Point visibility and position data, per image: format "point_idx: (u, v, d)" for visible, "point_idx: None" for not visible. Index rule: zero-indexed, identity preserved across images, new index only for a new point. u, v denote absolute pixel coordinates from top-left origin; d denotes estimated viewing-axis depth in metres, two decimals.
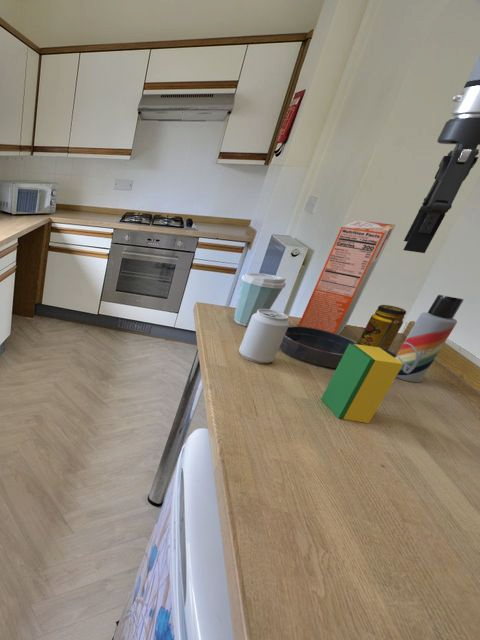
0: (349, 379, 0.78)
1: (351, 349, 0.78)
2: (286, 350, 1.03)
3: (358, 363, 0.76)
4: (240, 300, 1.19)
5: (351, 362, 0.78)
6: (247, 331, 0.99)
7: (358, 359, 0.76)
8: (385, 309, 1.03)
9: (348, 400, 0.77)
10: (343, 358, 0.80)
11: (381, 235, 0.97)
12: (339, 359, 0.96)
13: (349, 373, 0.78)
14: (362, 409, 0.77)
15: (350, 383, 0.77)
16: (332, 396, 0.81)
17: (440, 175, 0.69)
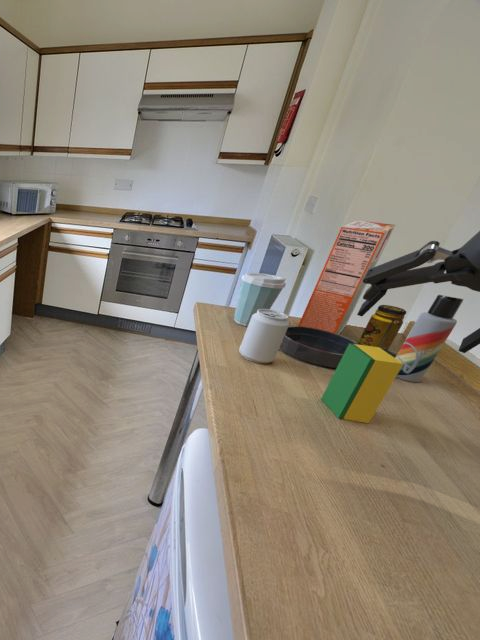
0: (349, 379, 0.78)
1: (351, 349, 0.78)
2: (286, 350, 1.03)
3: (358, 363, 0.76)
4: (240, 300, 1.19)
5: (351, 362, 0.78)
6: (247, 331, 0.99)
7: (358, 359, 0.76)
8: (385, 309, 1.03)
9: (348, 400, 0.77)
10: (343, 358, 0.80)
11: (381, 235, 0.97)
12: (339, 359, 0.96)
13: (349, 373, 0.78)
14: (362, 409, 0.77)
15: (350, 383, 0.77)
16: (332, 396, 0.81)
17: None
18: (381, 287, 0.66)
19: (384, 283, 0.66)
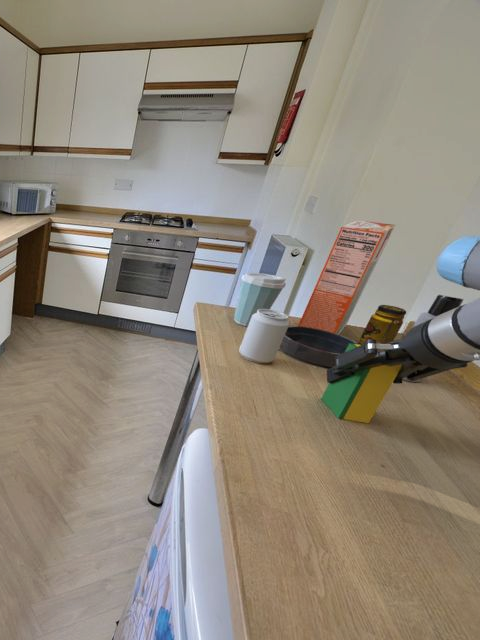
0: (349, 379, 0.78)
1: None
2: (286, 350, 1.03)
3: None
4: (240, 300, 1.19)
5: None
6: (247, 331, 0.99)
7: None
8: (385, 309, 1.03)
9: (348, 400, 0.77)
10: None
11: (381, 235, 0.97)
12: None
13: None
14: (362, 409, 0.77)
15: (350, 383, 0.77)
16: (332, 396, 0.81)
17: None
18: (351, 371, 0.76)
19: (351, 368, 0.75)
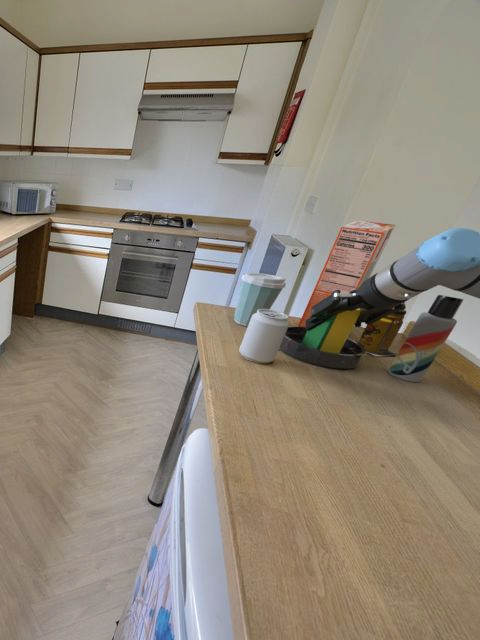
0: (322, 324, 1.01)
1: None
2: (286, 350, 1.03)
3: None
4: (240, 300, 1.19)
5: None
6: (247, 331, 0.99)
7: None
8: None
9: (320, 341, 1.00)
10: None
11: (381, 235, 0.97)
12: (339, 359, 0.96)
13: None
14: (331, 347, 1.00)
15: (322, 327, 1.00)
16: (309, 340, 1.05)
17: (372, 312, 0.92)
18: (323, 317, 0.99)
19: (323, 315, 0.99)
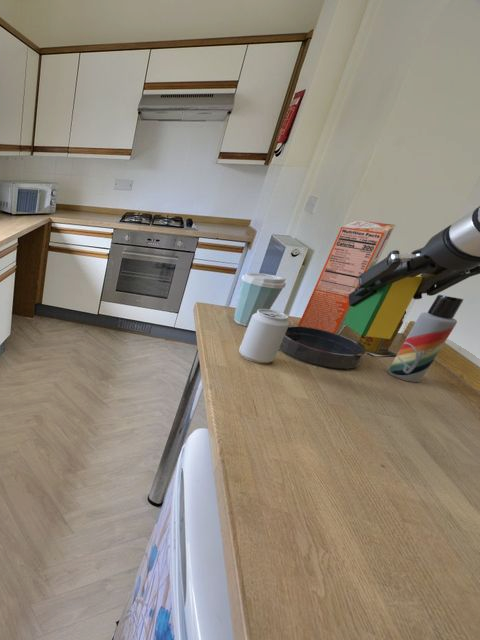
0: (371, 297, 0.82)
1: None
2: (286, 350, 1.03)
3: None
4: (240, 300, 1.19)
5: None
6: (247, 331, 0.99)
7: None
8: None
9: (371, 317, 0.82)
10: None
11: (381, 235, 0.97)
12: (339, 359, 0.96)
13: None
14: (384, 324, 0.82)
15: (372, 300, 0.82)
16: (355, 317, 0.86)
17: None
18: (373, 288, 0.81)
19: (373, 285, 0.80)
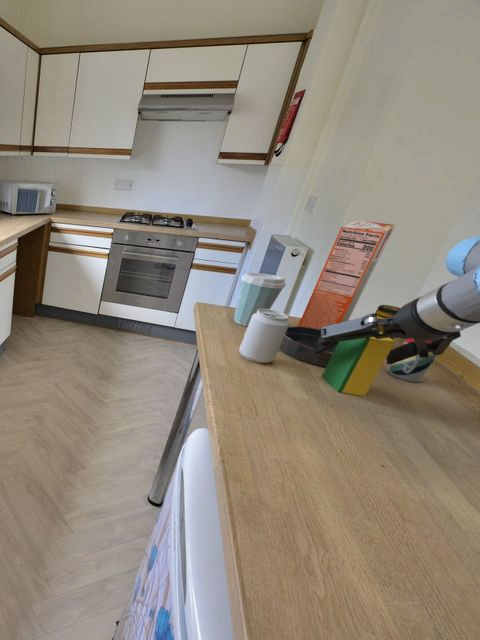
0: (347, 356, 0.87)
1: None
2: (286, 350, 1.03)
3: (355, 342, 0.85)
4: (240, 300, 1.19)
5: (349, 341, 0.87)
6: (247, 331, 0.99)
7: None
8: (385, 309, 1.03)
9: (346, 375, 0.86)
10: None
11: (381, 235, 0.97)
12: None
13: (347, 351, 0.87)
14: (358, 382, 0.86)
15: (348, 359, 0.86)
16: (332, 373, 0.90)
17: None
18: (335, 340, 0.84)
19: (337, 338, 0.83)
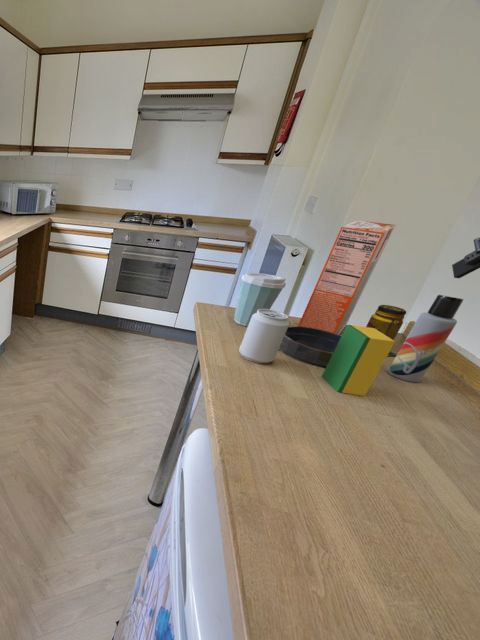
0: (347, 356, 0.87)
1: (349, 329, 0.87)
2: (286, 350, 1.03)
3: (355, 342, 0.85)
4: (240, 300, 1.19)
5: (349, 341, 0.87)
6: (247, 331, 0.99)
7: (355, 338, 0.85)
8: (385, 309, 1.03)
9: (346, 375, 0.86)
10: (342, 338, 0.89)
11: (381, 235, 0.97)
12: None
13: (347, 351, 0.87)
14: (358, 382, 0.86)
15: (348, 359, 0.86)
16: (332, 373, 0.90)
17: None
18: None
19: None
